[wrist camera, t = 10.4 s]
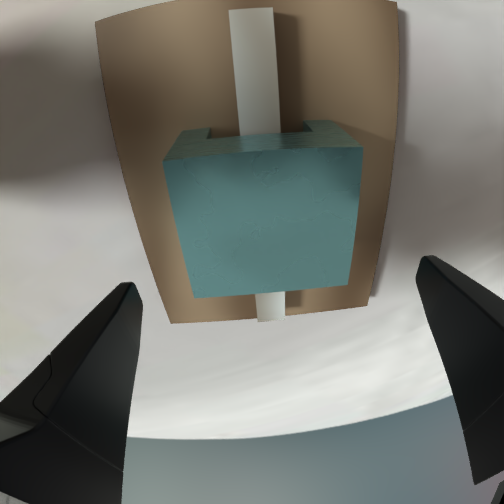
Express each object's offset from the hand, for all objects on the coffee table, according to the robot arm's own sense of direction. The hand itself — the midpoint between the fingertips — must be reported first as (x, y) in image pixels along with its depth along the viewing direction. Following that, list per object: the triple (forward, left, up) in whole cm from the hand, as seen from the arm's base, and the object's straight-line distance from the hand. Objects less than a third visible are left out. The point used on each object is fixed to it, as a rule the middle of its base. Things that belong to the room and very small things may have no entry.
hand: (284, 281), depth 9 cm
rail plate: (0, 0, -8) cm, 8 cm away
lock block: (0, 0, -7) cm, 7 cm away
